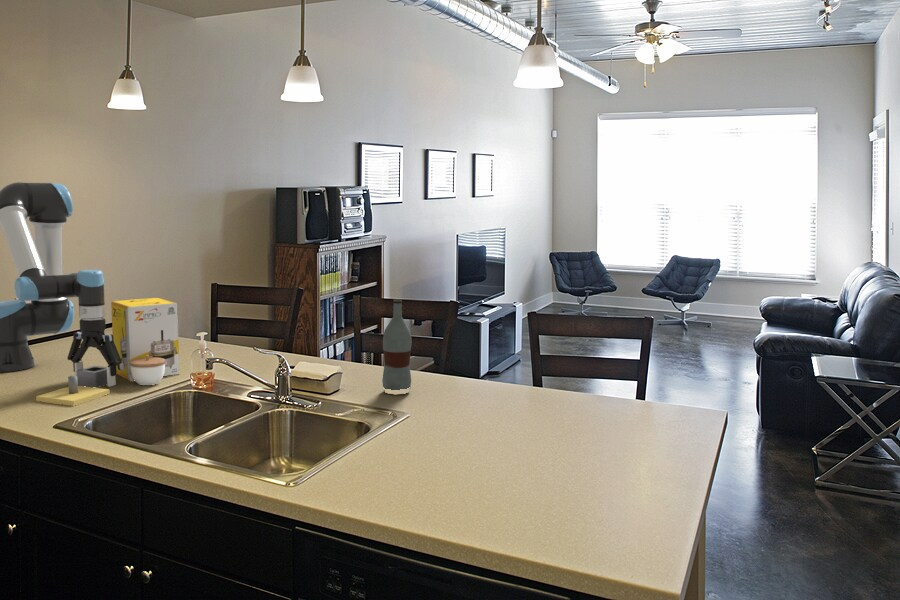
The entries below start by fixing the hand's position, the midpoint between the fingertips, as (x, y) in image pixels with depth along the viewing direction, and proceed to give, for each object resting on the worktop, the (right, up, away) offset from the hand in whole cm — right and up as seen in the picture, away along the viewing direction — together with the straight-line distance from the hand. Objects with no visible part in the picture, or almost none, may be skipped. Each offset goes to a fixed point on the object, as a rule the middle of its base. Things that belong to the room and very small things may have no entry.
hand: (95, 383), depth 240 cm
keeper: (+1, -2, -16) cm, 16 cm away
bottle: (+98, -3, -2) cm, 98 cm away
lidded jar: (+16, 0, +2) cm, 17 cm away
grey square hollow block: (0, 0, 0) cm, 0 cm away
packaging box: (+10, +2, +16) cm, 19 cm away
